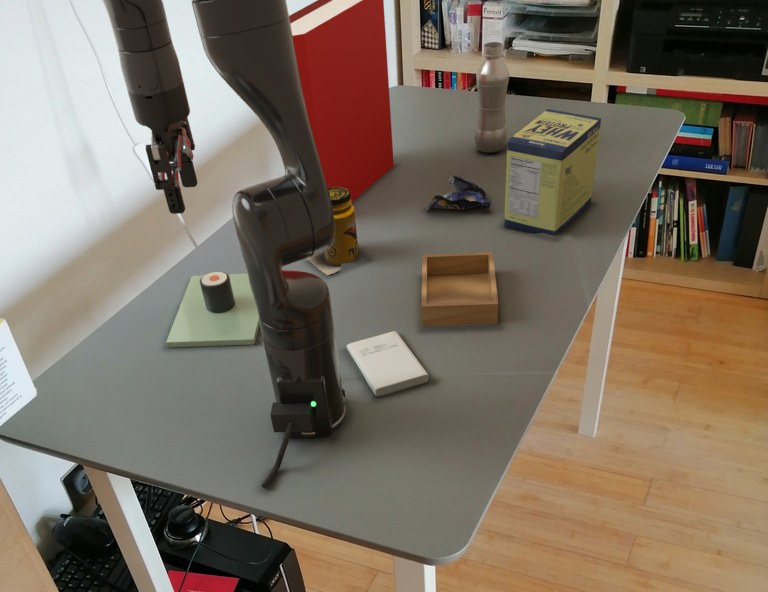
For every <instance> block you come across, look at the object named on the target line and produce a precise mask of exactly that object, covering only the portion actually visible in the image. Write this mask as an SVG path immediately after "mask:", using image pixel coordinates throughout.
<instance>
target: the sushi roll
mask: <svg viewBox="0 0 768 592" xmlns="http://www.w3.org/2000/svg"><path fill="white" fill-rule="evenodd" d="M228 274H229V273H226V272H224V271H212V272H209V273H208V272H207V273H206V274H203V275H204V276H203V277H202V278H201V279H200V286H201V289H202V293H203V297H204V301H205V305H206V309H207V310H208V311H209V312H212V313H223V312H226V311H229V310H231V309H232V308H233V307H234V306H235V299H234V295H233V291H232V286H231V282H230V278H229V275H228Z"/></svg>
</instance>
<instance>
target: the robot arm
mask: <svg viewBox="0 0 768 592" xmlns="http://www.w3.org/2000/svg"><path fill="white" fill-rule="evenodd" d="M101 1H102V4H103V6H104V8H105V10H106V13H107V16H108V19H109V23H110V26H111V29H112V33H113V37H114V40H115V45H116V48H117V51H118V52H117V53H118V56H119V57H118V58H119V63H120V69H121V73H122V76H123V80H124V83H125V87H126V91H127V94H128V98H129V101H130V105H131V109H132V112H133V116H134V119H135V121H136V123H137V124H138V125H140V126H142V127H147V128H148V129H149V130H150V131H151V137H150V141H151V142H150V144H145V153H146V155H147V159H148V163H149V167H150V170H151V175H152V179H153V180H152V181H153V183H154V187H155V189H156V191H163V193H164V196H165V200H166V204H167V208H168V211H169V213H170V214H173V215H176V214H179V215H180V214H184V213H185V211H186V205H185V202H184V197H183V193H182V189H181V187H180V181H181V185H182V187H184V188H196V187H197V185H198V179H197V174H196V170H195V166H194V161H193V160H194V153H193V151H195V149H196V145H195V141H194V137H193V133H192V130H191V126H190V122H189V118H188V117H189V116H190V113H191V108H190V104H189V99H188V95H187V91H186V87H185V82H184V79H183V74H182V69H181V65H180V61H179V58H178V54H177V52H176V49H175V46H174V43H173V39H172V35H171V32H170V27H169V21H168V19H167V18H168V17H167V14H166V10H165V5H164V1H163V0H101ZM190 1H191V6H192V10H193V14H194V17H195V21H196V25H197V30H198V33H199V36H200V41H201V44H202V48H203V51H204V53H205V56H206V57H207V60H208V61H209V62H210V64H211V65H212V67H213V68H214V70H215V71H216V73H217V74H218V75H219V77H220V78H222V80H223V81H224V82H225V83H226V84H227V85H228V86H229V88H231V90H232V91H233V92H234V93H235V94H236V95H237V96H238V97H239V98H240V99H241V100H242V101H243V102H244V103H245V104H246V105H247V106H248V108H249V109H250V110H251V111H252V112H253V113H254V114H255V116H257V118H258V119H259V120H260V121H261V123H262V124H263V125H264V127H265V129H266V130H267V131H268V132H269V134H270V135H271V137H272V139H273V141H274V143H275V145H276V148H277V150H278V152H279V154H280V158H281V161H282V164H283V167H284V173H285V175H283V176H280V177H276V178H273V179H270V180H267V181H263V182H261V183H257V184H254V185H251V186H247V187H245V188H242V189H240V190H238V191H237V192H236V193H235V194H234V196H233V199H232V205H231V208H232V209H231V210H232V218H233V219H232V220H233V225H234V228H235V232H236V237H237V239H238V243H239V247H240V250H241V254H242V257H243V261H244V266H245V269H246V274H248V278H249V283H250V287H251V290H252V294H253V297H254V300H255V304H256V308H257V313H258V317H259V322H260V326H259V328H260V331H261V336H262V341H263V346H264V351H265V356H266V360H267V365H268V370H269V375H270V380H271V384H272V389H273V395H274V399H275V402H272V405H271V409H270V414H269V415H270V421H271V425H272V430H273V433H284V435H283V438H282V441H281V444H280V447H279V450H278V452H277V456H276V459H275V462H274V465H273V467H272V469H271V471H270V472H269V474H268V476H267V477H266V478H265V479H264V481H263V482H262V483H261V487H262V488H263V489H267V488H268V487H269V486H270V484H271V483H272V482H273V480H274V479H275V478H276V476H277V474H278V472H279V470H280V468H281V466H282V463H283V459H284V456H285V454H286V450H287V447H288V444H289V441H290V439H292V438H323V437H325V438H326V437H332V436H333V432H334V431H336V430H337V428H339V427H340V426H341V425H342V424H343V422H344V421H345V419H346V415H347V408H346V403H345V399H344V398H347V396H346V390H345V389H344V388H343V385H342V377H341V370H340V362H339V354H338V347H337V341H336V332H335V326H334V325H335V323H334V316H333V307H332V300H331V294H330V289H329V287H328V284H327V283H326V281H325V280H323V278H322V277H320V276H318V275H316V274H314V273H311V272H307V271H302V270H287V269H283V267H286V266H288V265H291V264H295V263H297V262H299V261H303V260H305V259H306V258H309V257H311V256H315V255H318V254H320V253H322V252H324V251H326V250H328V249H329V248H331V246H332V244H333V242H334V239H335V220H334V214H333V209H332V204H331V200H330V196H329V192H328V188H327V184H326V181H325V177H324V173H323V170H322V166H321V162H320V159H319V155H318V152H317V148H316V144H315V140H314V137H313V133H312V129H311V126H310V122H309V118H308V114H307V110H306V105H305V100H304V95H303V90H302V85H301V80H300V75H299V70H298V65H297V59H296V54H295V48H294V42H293V36H292V30H291V24H290V18H289V16H290V13H289V9H288V4H287V0H190ZM179 177H180V179H179ZM306 260H307V259H306Z"/></svg>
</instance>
